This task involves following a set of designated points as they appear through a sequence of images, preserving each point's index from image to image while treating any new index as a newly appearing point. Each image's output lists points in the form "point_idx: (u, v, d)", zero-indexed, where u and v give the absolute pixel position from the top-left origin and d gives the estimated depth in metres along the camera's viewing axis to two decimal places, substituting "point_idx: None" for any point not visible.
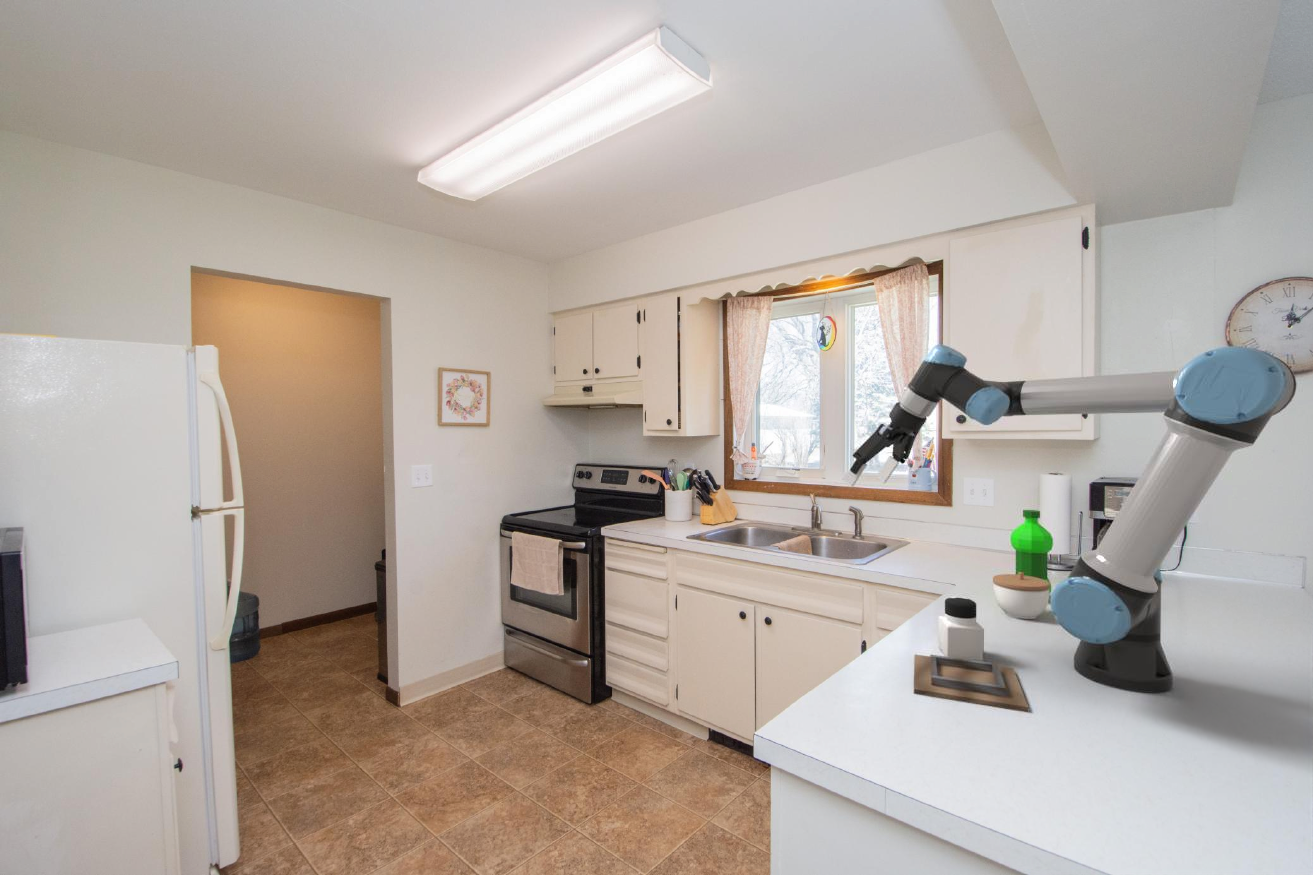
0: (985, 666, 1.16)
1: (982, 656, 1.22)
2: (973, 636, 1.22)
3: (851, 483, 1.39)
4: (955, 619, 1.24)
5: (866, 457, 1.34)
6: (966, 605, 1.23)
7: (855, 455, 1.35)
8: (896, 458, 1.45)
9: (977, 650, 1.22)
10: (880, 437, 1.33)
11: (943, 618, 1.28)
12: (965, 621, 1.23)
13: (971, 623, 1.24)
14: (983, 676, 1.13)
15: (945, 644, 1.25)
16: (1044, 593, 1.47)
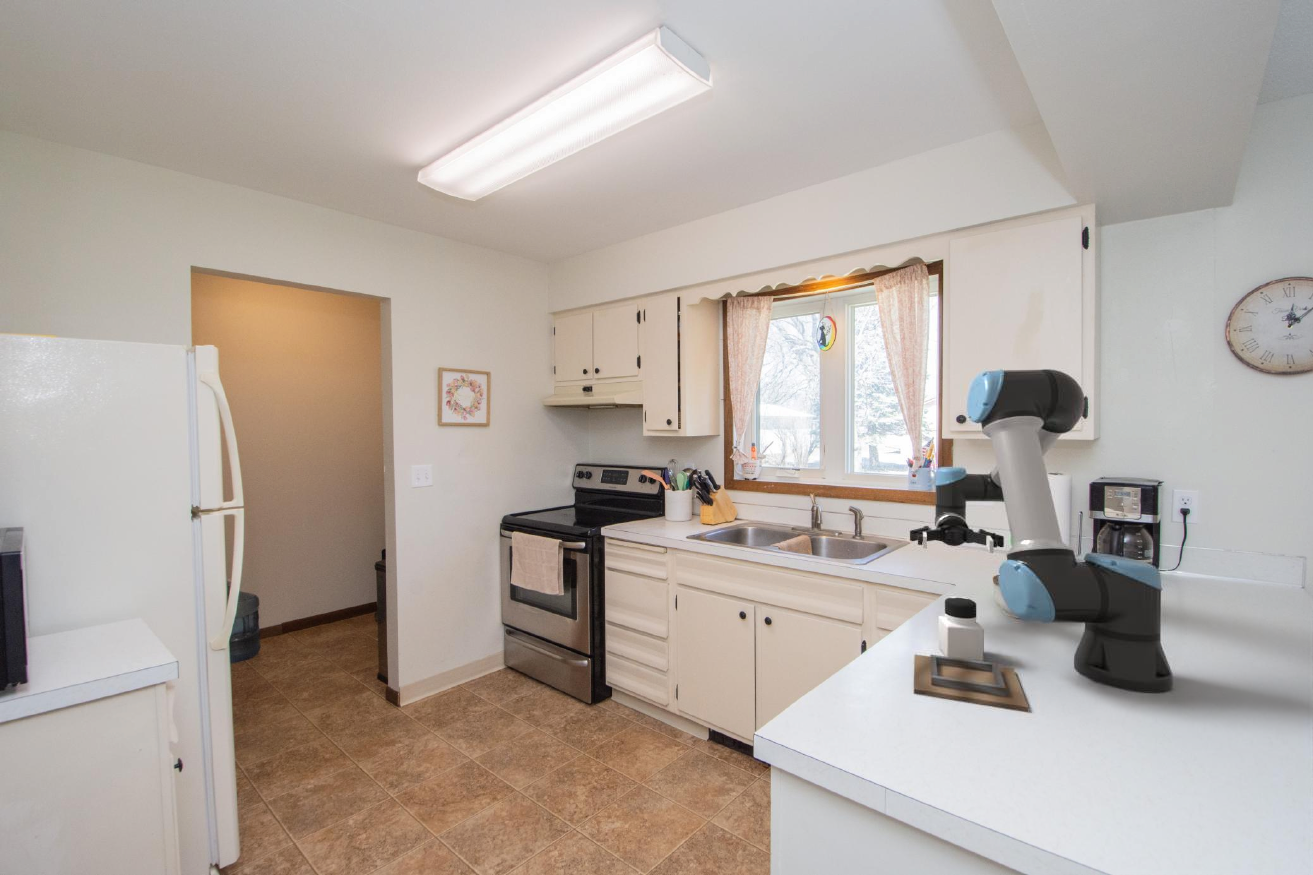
0: (985, 666, 1.16)
1: (982, 656, 1.22)
2: (973, 636, 1.22)
3: (923, 537, 1.38)
4: (955, 619, 1.24)
5: (916, 530, 1.46)
6: (966, 605, 1.23)
7: None
8: None
9: (977, 650, 1.22)
10: None
11: (943, 618, 1.28)
12: (965, 621, 1.23)
13: (971, 623, 1.24)
14: (983, 676, 1.13)
15: (945, 644, 1.25)
16: None
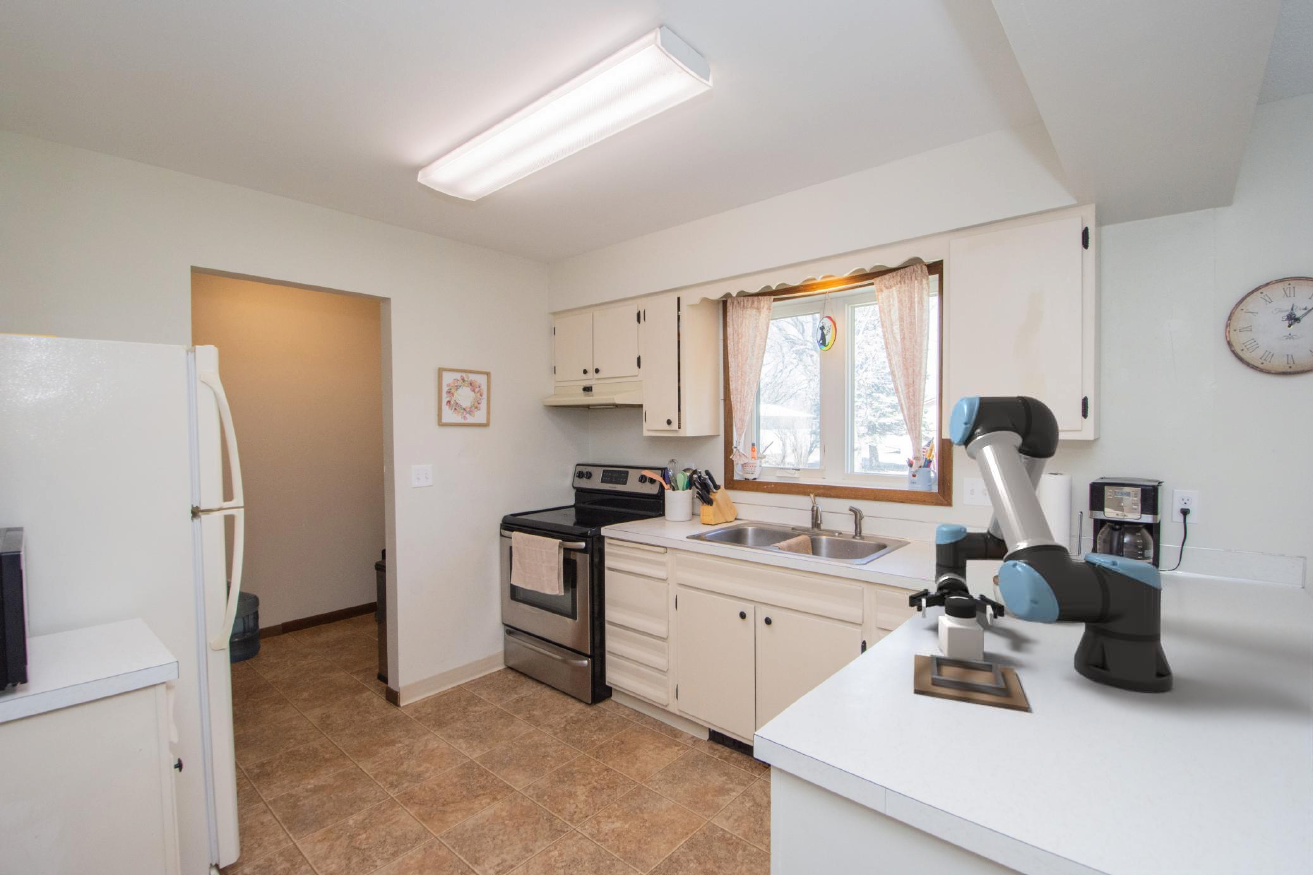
0: (985, 666, 1.16)
1: (982, 656, 1.22)
2: (973, 636, 1.22)
3: (922, 606, 1.36)
4: (955, 619, 1.24)
5: (916, 596, 1.44)
6: (966, 605, 1.23)
7: None
8: None
9: (977, 650, 1.22)
10: None
11: (943, 618, 1.28)
12: (965, 621, 1.23)
13: (971, 623, 1.24)
14: (983, 676, 1.13)
15: (945, 644, 1.25)
16: None
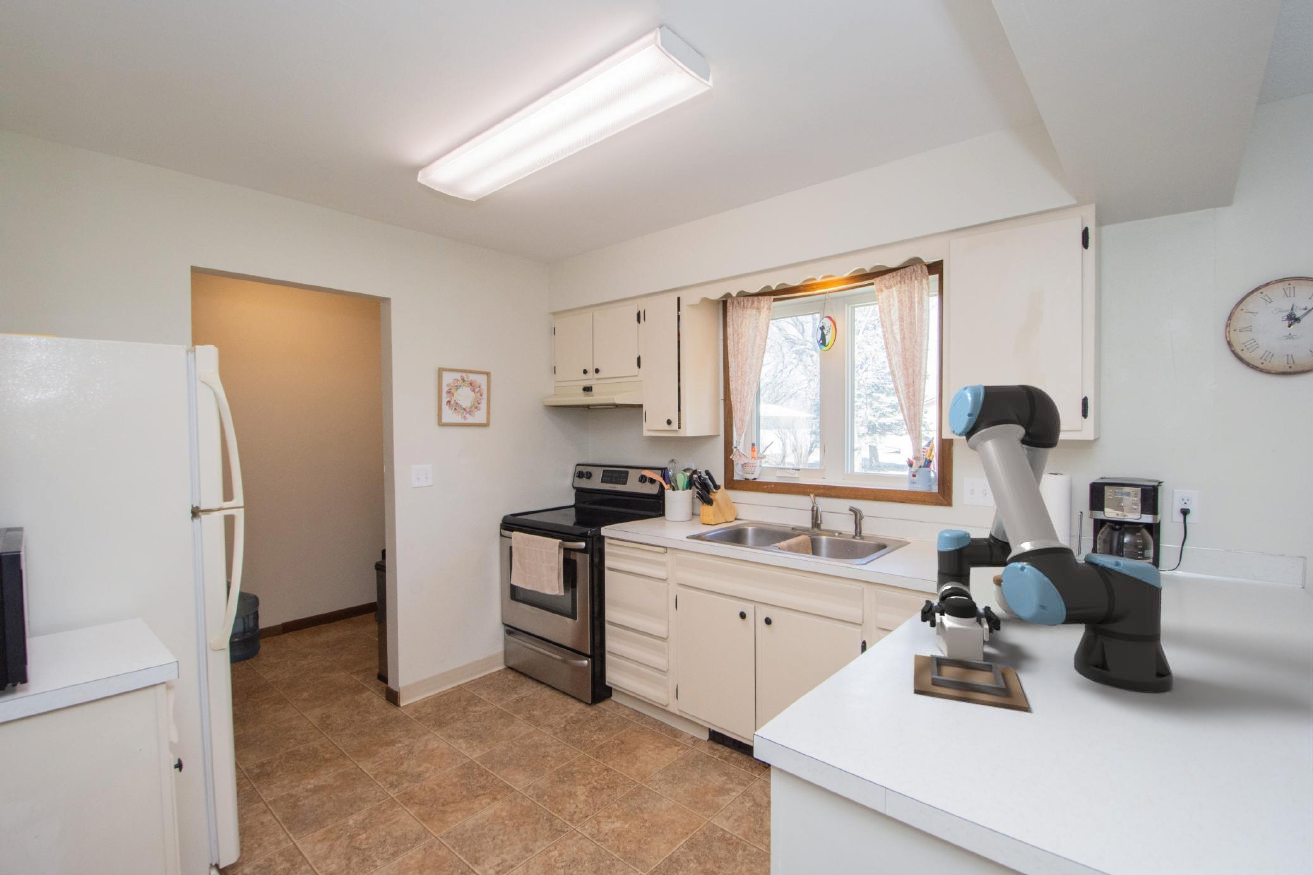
0: (985, 666, 1.16)
1: (982, 656, 1.22)
2: (973, 636, 1.22)
3: (936, 622, 1.24)
4: (955, 619, 1.24)
5: (927, 609, 1.33)
6: (965, 605, 1.23)
7: None
8: None
9: (977, 650, 1.22)
10: None
11: (943, 617, 1.28)
12: (965, 621, 1.23)
13: (971, 623, 1.24)
14: (983, 676, 1.13)
15: (944, 644, 1.25)
16: None
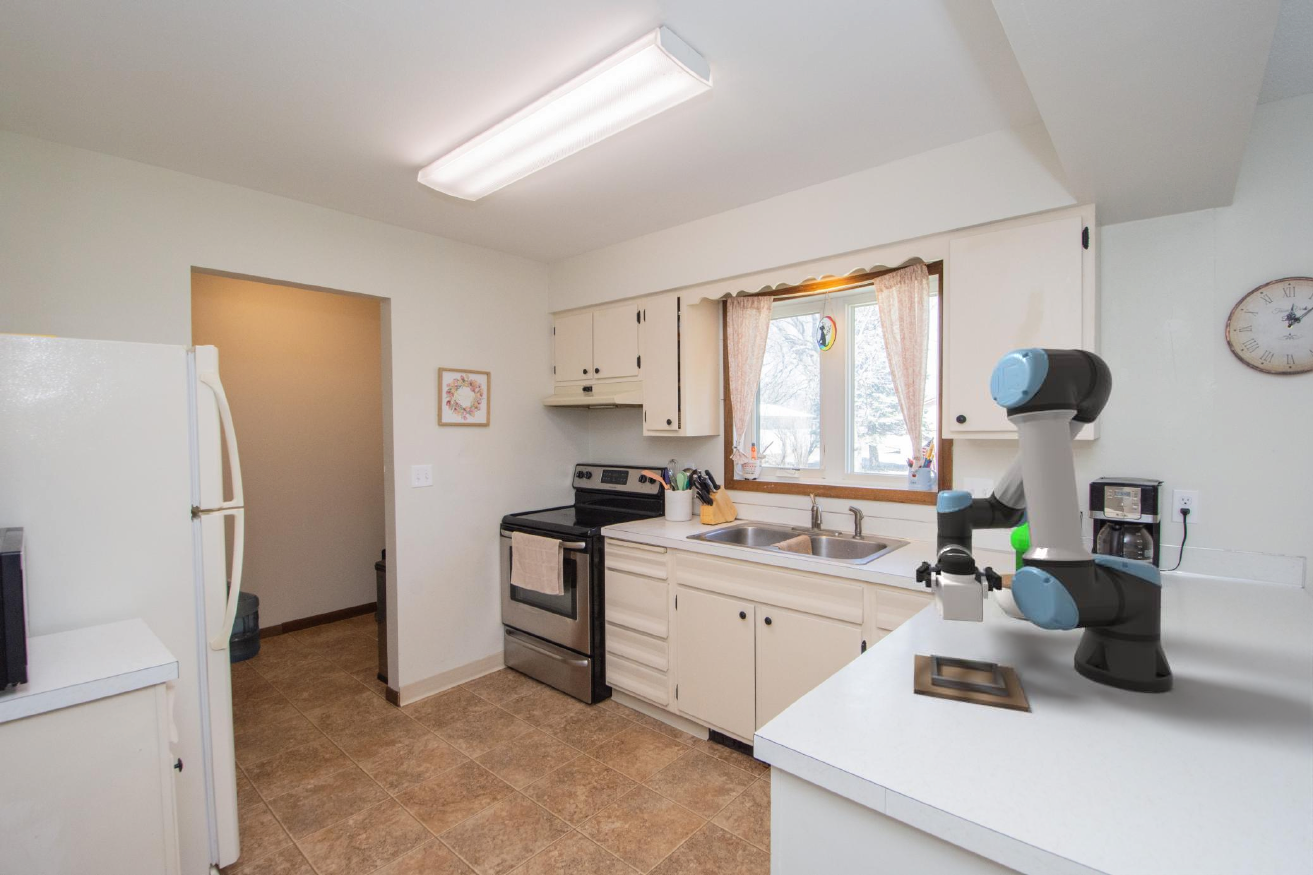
0: (985, 666, 1.16)
1: (981, 616, 1.12)
2: (972, 594, 1.13)
3: (931, 580, 1.15)
4: (952, 576, 1.15)
5: (923, 569, 1.23)
6: (963, 561, 1.14)
7: None
8: None
9: (976, 610, 1.13)
10: None
11: (939, 576, 1.19)
12: (962, 578, 1.14)
13: (969, 580, 1.14)
14: (983, 676, 1.13)
15: (940, 604, 1.16)
16: None
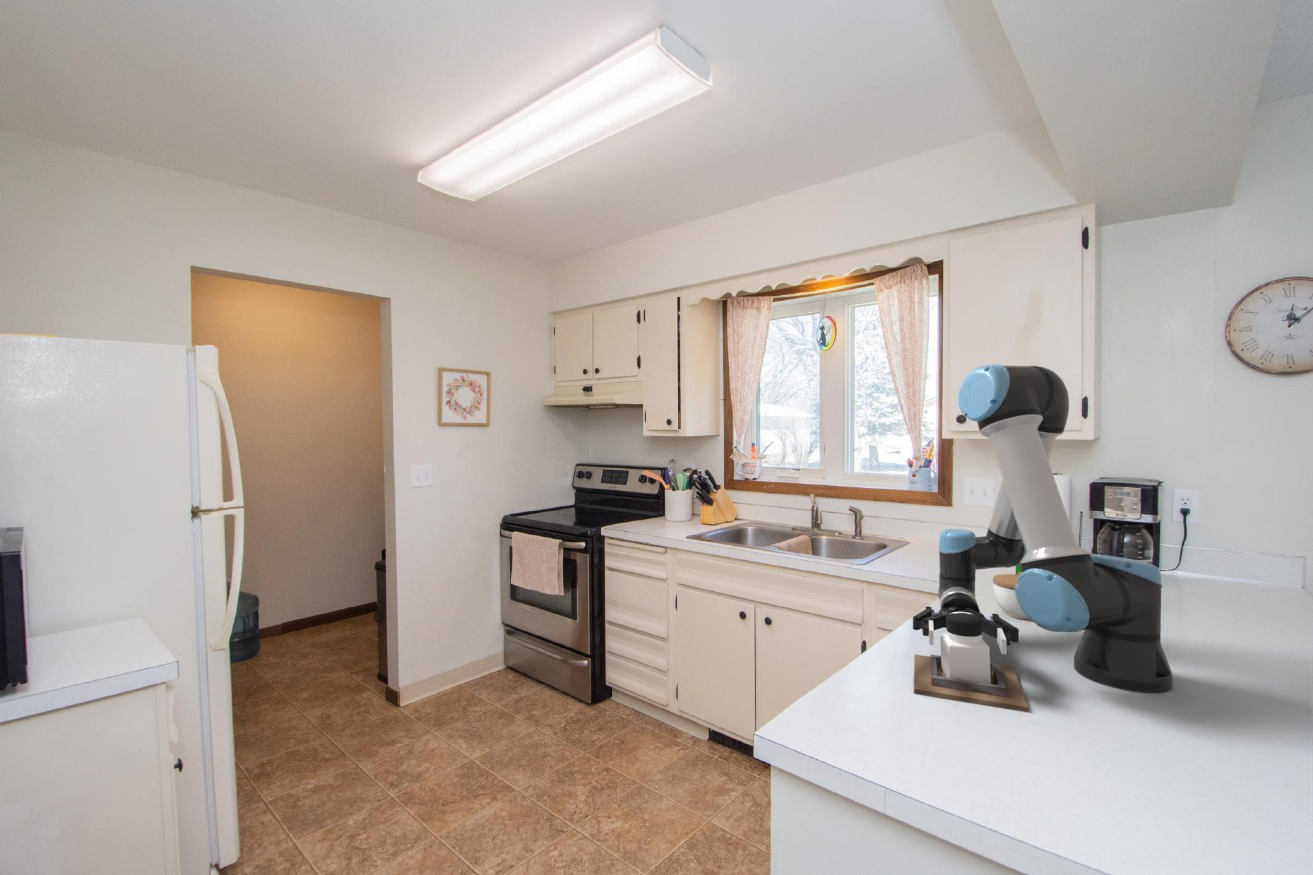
0: None
1: (989, 679, 1.08)
2: (979, 657, 1.09)
3: (929, 631, 1.12)
4: (957, 637, 1.11)
5: (920, 616, 1.20)
6: (969, 622, 1.10)
7: None
8: None
9: (984, 673, 1.09)
10: None
11: (945, 635, 1.15)
12: (969, 640, 1.10)
13: (976, 642, 1.10)
14: None
15: (947, 666, 1.12)
16: None
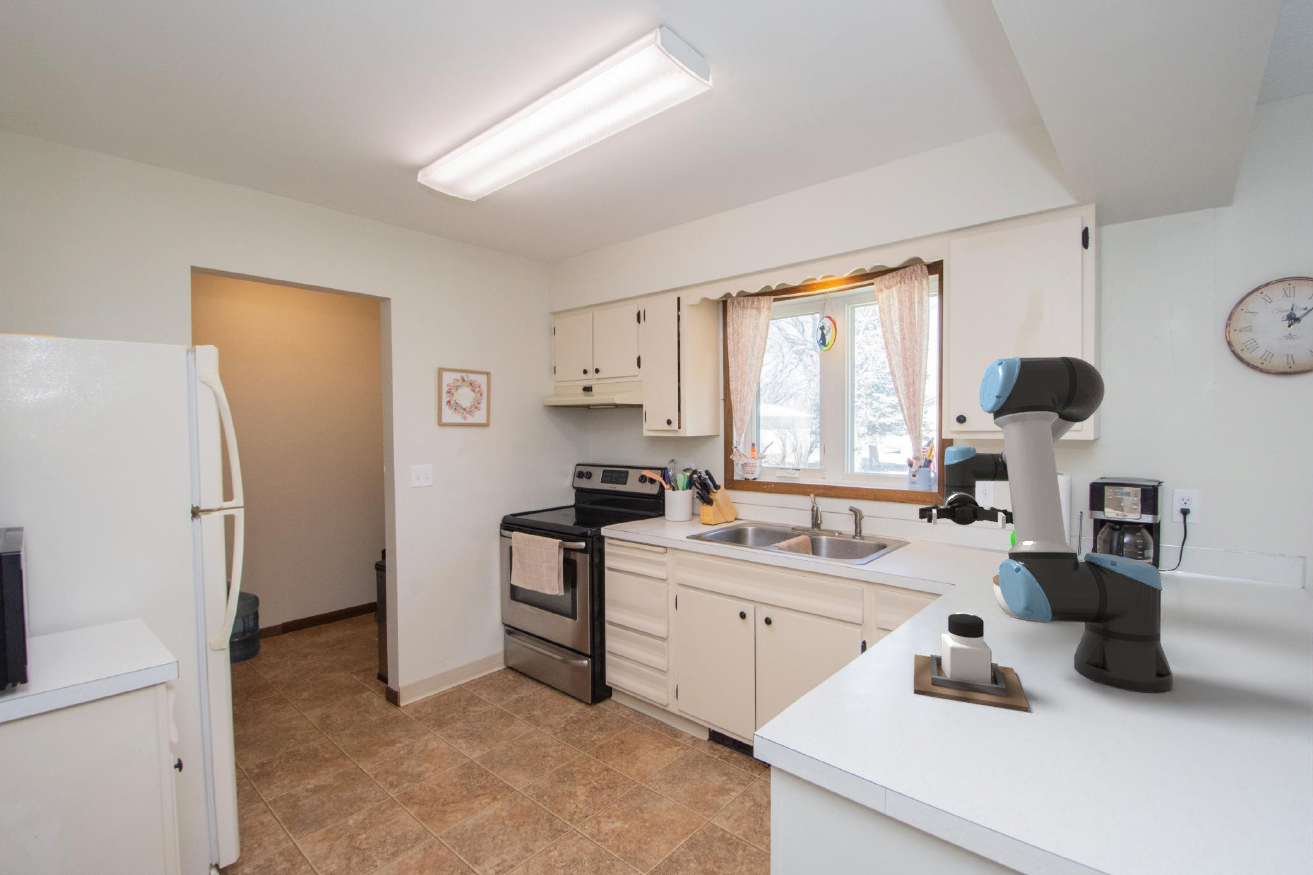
0: None
1: (990, 681, 1.08)
2: (980, 658, 1.09)
3: (933, 514, 1.35)
4: (959, 638, 1.11)
5: (926, 508, 1.43)
6: (971, 623, 1.10)
7: None
8: None
9: (984, 674, 1.09)
10: None
11: (946, 636, 1.15)
12: (970, 641, 1.10)
13: (978, 643, 1.10)
14: None
15: (947, 666, 1.12)
16: None
